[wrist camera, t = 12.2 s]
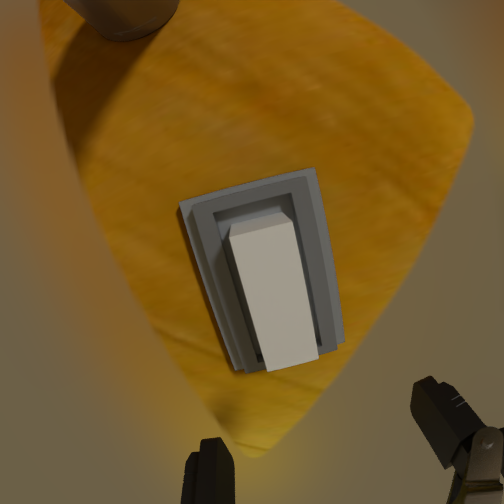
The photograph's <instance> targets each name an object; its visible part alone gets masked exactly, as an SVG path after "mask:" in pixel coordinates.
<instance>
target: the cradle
mask: <svg viewBox="0 0 504 504" xmlns="http://www.w3.org/2000/svg"><path fill="white" fill-rule="evenodd" d="M179 205H180V208H181V212H182V215H183V219H184V222H185V225H186V229H187V232H188V235H189V238H190V242H191V245H192V248H193V251H194V254H195V258H196V261H197V264H198V267H199V270H200V273H201V276H202V279H203V282H204V285H205V288H206V291H207V294H208V297H209V300H210V303H211V306H212V309H213V311H214V314H215V317H216V320H217V323H218V326H219V328H220V331H221V334H222V337H223V339H224V342H225V345H226V348H227V350H228V353H229V356H230V358H231V361H232V364H233V366H234V369H235V371H236V370H241V369H244V370H245V373H250V372H255V371H259V370H264V369H267V368H266V365H265V361H264V358H263V355H262V351H261V348H260V344H259V341H258V338H257V334H256V331H255V327H254V324H253V320H252V317H251V313H250V310H249V306H248V303H247V299H246V296H245V292H244V289H243V285H242V282H241V278H240V275H239V271H238V268H237V264H236V260H235V257H234V253H233V250H232V246H231V242H230V239H229V235H230V228H231V225H232V224H236V223H239V222H243V221H247V220H251V219H255V218H259V217H263V216H267V215H271V214H275V213H279V212H283V213H284V214H285V215H286V216H287V217H288V218H289V219H290V220H291V221H292V222H293V226H294V231H295V235H296V240H297V245H298V249H299V254H300V259H301V264H302V269H303V274H304V279H305V284H306V289H307V294H308V300H309V305H310V310H311V316H312V321H313V327H314V333H315V338H316V344H317V350H318V355H321V354H324V353H328V352H331V351H334V350H337V344H340V343H343V342H345V338H344V329H343V321H342V313H341V306H340V299H339V292H338V285H337V279H336V272H335V266H334V260H333V255H332V249H331V243H330V238H329V233H328V227H327V222H326V217H325V212H324V207H323V203H322V198H321V193H320V189H319V184H318V180H317V176H316V171H315V167H314V168H308V169H303V170H299V171H294V172H290V173H285V174H281V175H277V176H273V177H269V178H265V179H261V180H257V181H253V182H249V183H245V184H241V185H237V186H233V187H230V188H226V189H222V190H219V191H215V192H212V193H208V194H204V195H201V196H198V197H194V198H191V199H187V200H184V201H181V202H179Z"/></svg>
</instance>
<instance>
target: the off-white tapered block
mask: <svg viewBox="0 0 504 504" xmlns="http://www.w3.org/2000/svg"><path fill="white" fill-rule="evenodd" d="M229 239H230V242H231V246H232V250H233V253H234V257H235V260H236V264H237V268H238V271H239V275H240V278H241V282H242V285H243V289H244V292H245V296H246V299H247V303H248V306H249V310H250V313H251V317H252V320H253V324H254V327H255V331H256V334H257V338H258V341H259V344H260V348H261V351H262V355H263V358H264V361H265V365H266V368H267V371H268V372H269V371H273V370H278V369H282V368H286V367H290V366H294V365H298V364H301V363H305V362H309V361H312V360H316V359H319V356H318V350H317V344H316V338H315V333H314V327H313V321H312V316H311V310H310V305H309V300H308V294H307V289H306V284H305V279H304V274H303V269H302V264H301V259H300V254H299V249H298V245H297V240H296V235H295V231H294V226H293V222H292V221H291V220H290V219H289V218H288V217H287V216H286V215H285V214H284V213H283V212H279V213H275V214H271V215H267V216H263V217H259V218H255V219H251V220H247V221H243V222H239V223H236V224H232V225H231V228H230V235H229Z"/></svg>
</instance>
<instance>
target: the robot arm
mask: <svg viewBox="0 0 504 504" xmlns="http://www.w3.org/2000/svg"><path fill="white" fill-rule="evenodd" d="M63 1H64V2H65V3H67V4H68V5H69V6H70V7H71V8H72V9H74V10H75V11H76V12H77V13H78V14H79V15H80V16H82V17H83V18H84V19H85V20H86V21H87V22H88V23H89V24H90V25H91V26H92V27H94V28H95V29H96V30H97V31H98V32H99V33H100V34H101V35H102V36H103V37H105V38H107V39H109V40H113V41H130V40H134V39H138V38H141V37H143V36H145V35H148V34H150V33H152V32H153V31H155V30H156V29H158V28H160V27H161V26H162V25H163V24H164V23H166V22H167V21H168V20H169V19H170V17H171V16H172V15H173V14H174V12H175V10H176V9H177V7H178V4H179V0H63ZM410 409H411V413H412V416H413V418H414V419H415V421H416V423H417V424H418V426H419V427H420V429H421V431H422V432H423V434H424V436H425V437H426V439H427V440H428V442H429V443H430V445H431V447H432V449H433V450H434V452H435V454H436V455H437V457H438V459H439V460H440V462H441V464H442V466H443V467H444V469H447V468H449V467H451V466H452V465H453V466H454V468H455V472H454V476H453V480H452V484H451V489H450V492H449V496H448V499H447V503H446V504H501V501H502V496H503V489H504V488H503V484H501V483H500V473H501V474H502V476H503V477H504V428H500V429H498V428H496V427H492V426H486V425H485V424H484V423H483V422H482V421H481V419H480V418H479V417H478V416H477V414H476V413H475V412H474V411H473V410H472V408H471V407H470V406H469V405H468V403H467V402H465V400H464V399H463V398H462V396H460V394H459V393H458V391H457V390H456V389H455V388H454V387H453V386H451V385H449V384H447V383H445V382H442V383H440V384H438V383H437V381H436V380H435V379H434V378H433V377H432V376H428V377H426V378H424V379H421V380H420V381H418V382H415V383H414V385H413V391H412V398H411V404H410ZM184 473H185V475H184V480H183V481H184V483H183V488H182V496H181V504H235V468H234V461H233V458H232V455H231V454H230V452H229V450H228V449H227V447H226V445H225V444H224V442H223V440H222V439H221V438H220V437H217V438H209V439H202V440H201V443H200V452H192V453H191V454H190V456H189V458H188V459H187V461H186V464H185V472H184Z"/></svg>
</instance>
